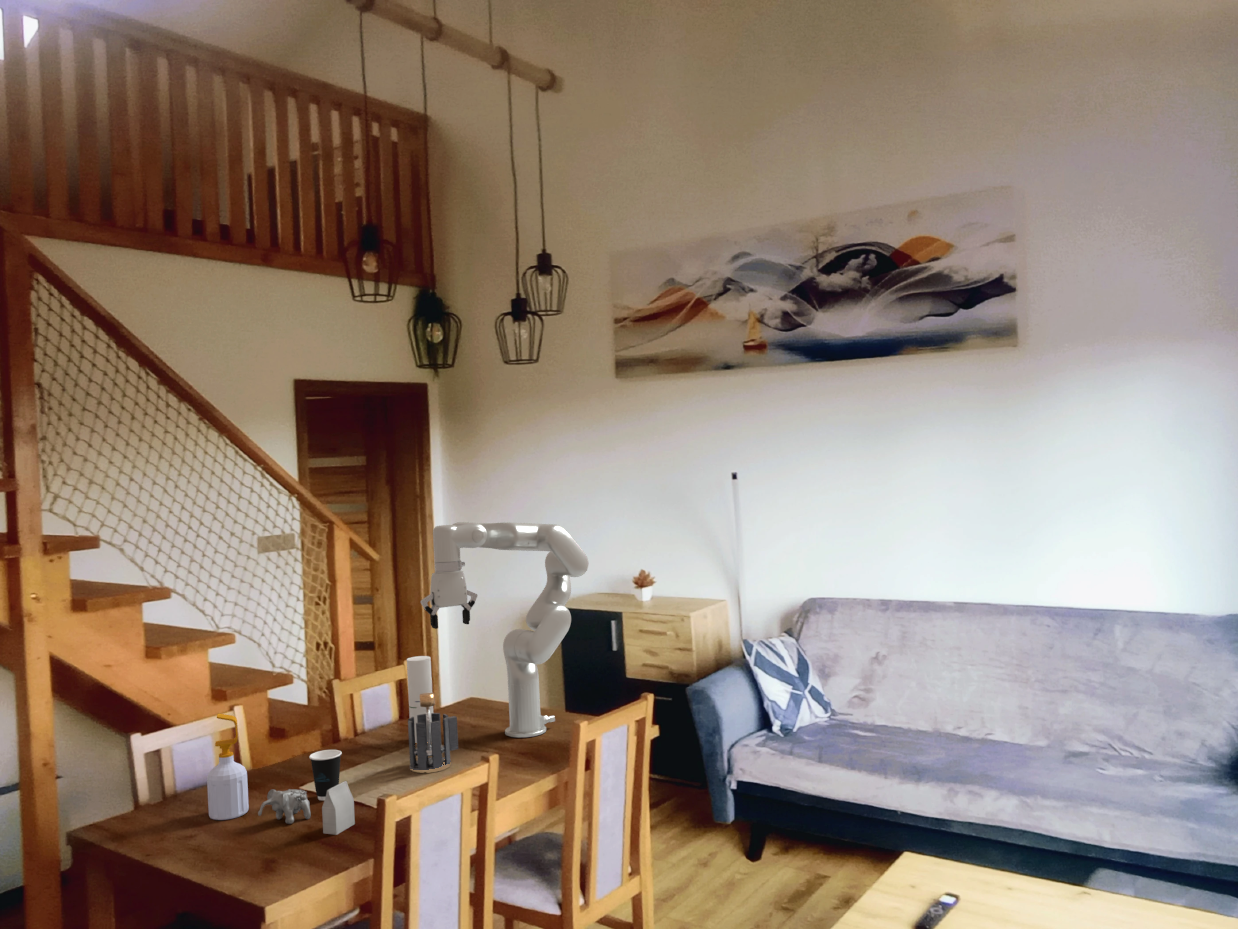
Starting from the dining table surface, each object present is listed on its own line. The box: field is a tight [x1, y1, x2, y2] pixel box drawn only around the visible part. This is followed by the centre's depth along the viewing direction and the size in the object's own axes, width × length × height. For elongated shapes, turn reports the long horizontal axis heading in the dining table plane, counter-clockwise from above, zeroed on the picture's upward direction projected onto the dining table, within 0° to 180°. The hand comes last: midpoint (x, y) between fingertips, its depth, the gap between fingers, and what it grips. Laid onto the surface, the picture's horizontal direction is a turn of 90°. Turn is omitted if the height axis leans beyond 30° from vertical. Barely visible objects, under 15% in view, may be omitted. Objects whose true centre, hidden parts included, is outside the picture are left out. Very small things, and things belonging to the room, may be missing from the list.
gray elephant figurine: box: [257, 788, 311, 825], centre depth 231 cm, size 9×12×8 cm
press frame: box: [407, 712, 459, 770], centre depth 269 cm, size 14×11×14 cm
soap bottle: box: [206, 713, 250, 821], centre depth 238 cm, size 9×9×25 cm
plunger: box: [415, 692, 444, 757], centre depth 268 cm, size 8×8×16 cm
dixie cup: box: [308, 749, 343, 801], centre depth 247 cm, size 8×8×11 cm
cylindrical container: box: [406, 655, 434, 743], centre depth 295 cm, size 7×7×25 cm
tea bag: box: [321, 780, 356, 836], centre depth 224 cm, size 4×7×10 cm, turn 159°
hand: (450, 626), depth 283 cm, fingers open, 9 cm apart
